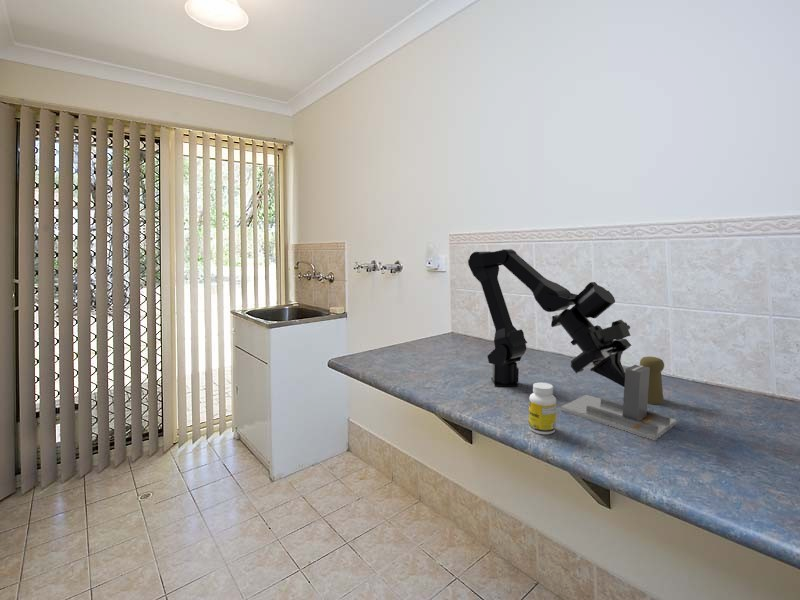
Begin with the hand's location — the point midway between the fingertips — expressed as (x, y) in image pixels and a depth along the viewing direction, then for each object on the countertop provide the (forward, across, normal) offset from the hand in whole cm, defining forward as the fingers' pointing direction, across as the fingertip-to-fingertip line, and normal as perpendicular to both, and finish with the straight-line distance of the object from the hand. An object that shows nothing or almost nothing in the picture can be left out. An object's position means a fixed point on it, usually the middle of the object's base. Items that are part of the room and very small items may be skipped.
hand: (627, 386), depth 89 cm
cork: (+5, +17, +7) cm, 19 cm away
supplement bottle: (-1, -19, +12) cm, 22 cm away
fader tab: (+6, 0, +3) cm, 7 cm away
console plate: (+4, 0, +7) cm, 8 cm away
